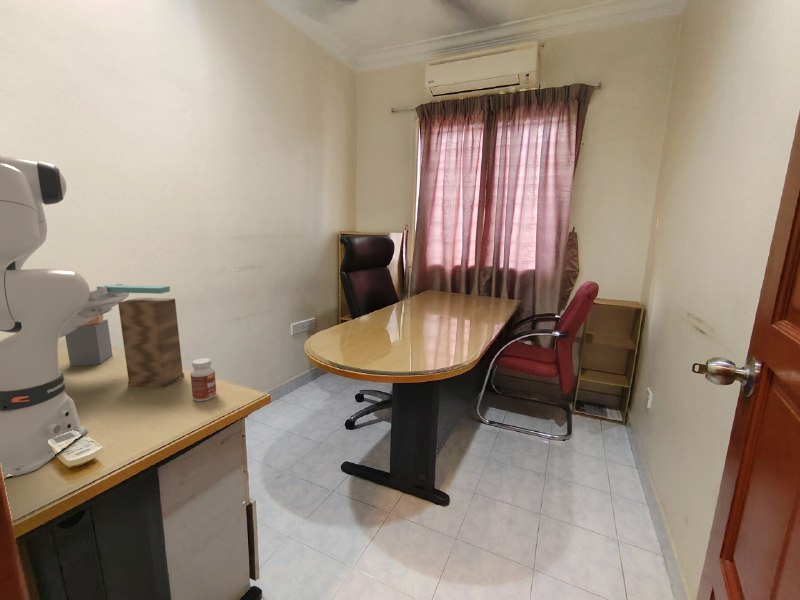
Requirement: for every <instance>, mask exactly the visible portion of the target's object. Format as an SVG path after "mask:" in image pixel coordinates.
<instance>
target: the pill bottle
mask: <svg viewBox="0 0 800 600" xmlns="http://www.w3.org/2000/svg"><path fill="white" fill-rule="evenodd" d="M191 363H192V364H191V365H192V369H190V375H189V376H190V384H191V393H192V395H191V396H192V400H194V401H196V402H204V401H209V399H210V400H212V399H214V398H215V397H216V396H217V385H216V384H217V383H216V382H217V381H216V371H215V368H214V366H212V360H211V358H208V357H207V358H206V357H203V358H202V357H201V358H198V359H194V360H192V362H191ZM213 397H214V398H213ZM211 398H212V399H211Z"/></svg>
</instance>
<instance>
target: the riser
mask: <svg viewBox="0 0 800 600" xmlns="http://www.w3.org/2000/svg"><path fill="white" fill-rule="evenodd" d="M102 320H103V322H102V323H99V324H95V325H90V326H80V327H78V328H77V329H76V330H74V331H73V332H71V333H69V334H67V335H65V336H64V337H65V342H66V349H67V354H68V361H69V366H70V367H77V366H79V367H81V366H92V365H102V364H103V363H104V362H106V361H108V359H110V358H111V357H113V351H112V341H111V334H110V328H109V322H108V321H109V320H108V319H102Z"/></svg>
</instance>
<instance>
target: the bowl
mask: <svg viewBox="0 0 800 600" xmlns="http://www.w3.org/2000/svg"><path fill="white" fill-rule="evenodd" d="M103 320H104V314H102V315H99V316H97V317H96V318H94V319H92V320H90V321H89V322H87V323H85V324H84V325H81V326H90V325H95V324H99V323H102V322H103ZM78 327H80V326H78Z"/></svg>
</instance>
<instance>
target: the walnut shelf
mask: <svg viewBox="0 0 800 600" xmlns="http://www.w3.org/2000/svg"><path fill="white" fill-rule="evenodd" d="M117 305H118V314H119V317H120V326H121V334H122V340H123V343H122V344H123V347H124V348H123V349H124V355H125V363H126V370H127V378H128V381H127V382H126V383H127V386H128V387H142V388H143V387H145V388H146V387H148V388H149V387H150V388H163V389H164V388H167V387H169V386H170V385H172V384H173V382H174V383H175V382H176V380H177V379H178V380H180V379H181V378H180V377H182V376H183V377H185V372H183V362H182V361H183V360H182V354H181V353H182V352H181V343H180V334H179V332H180V331H179V322H178V316H177V315H178V313H177V304H176V298H165V297H136V298H132V299H127V300H123V301H121V302H119V303H118V304H117ZM183 377H182V378H183ZM179 378H180V379H179ZM178 380H177V381H178ZM168 385H169V386H168Z"/></svg>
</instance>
